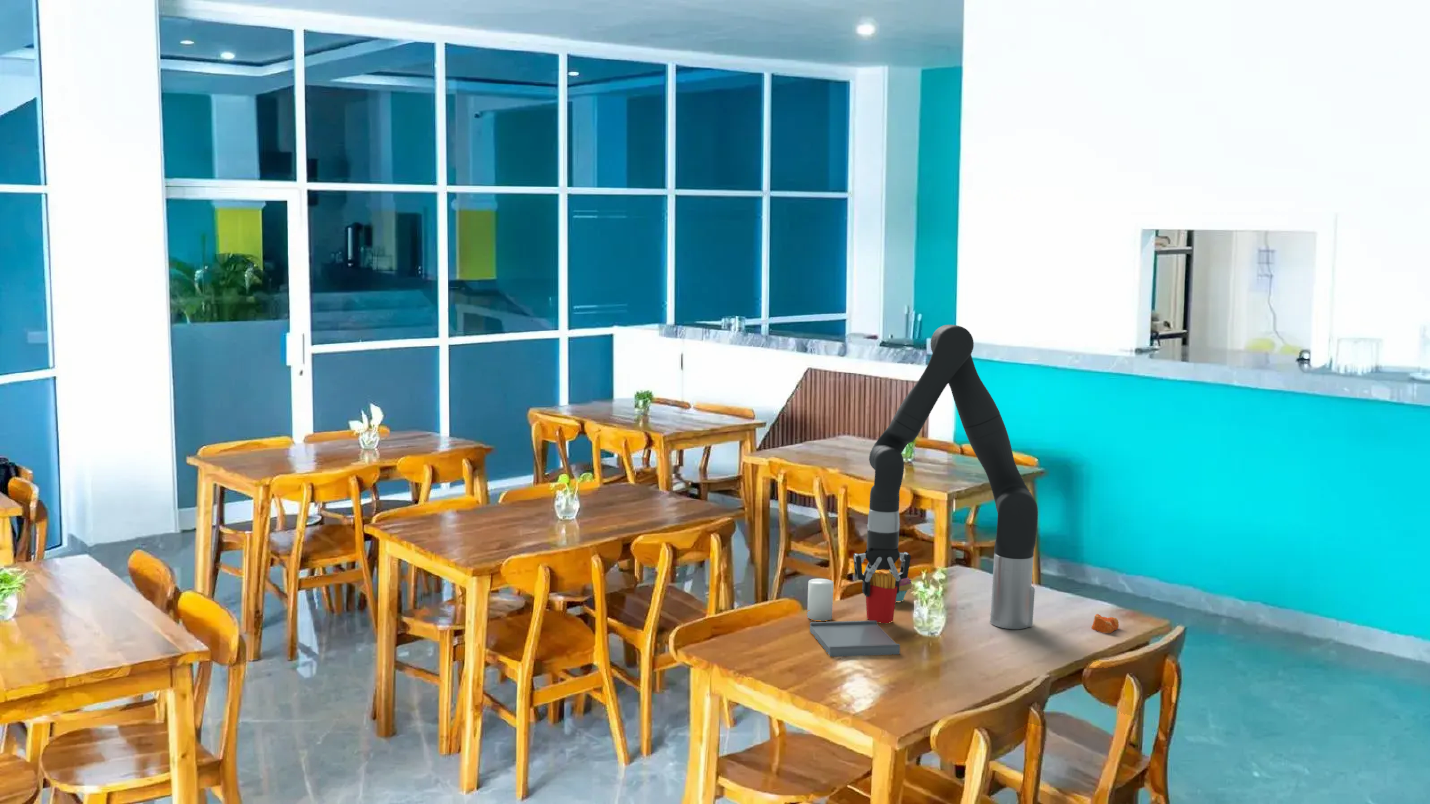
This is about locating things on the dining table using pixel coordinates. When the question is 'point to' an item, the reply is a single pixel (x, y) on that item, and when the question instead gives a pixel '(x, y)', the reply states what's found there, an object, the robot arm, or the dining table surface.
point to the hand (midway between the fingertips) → (880, 595)
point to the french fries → (881, 597)
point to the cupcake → (903, 588)
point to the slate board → (853, 638)
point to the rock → (1105, 624)
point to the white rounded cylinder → (820, 599)
